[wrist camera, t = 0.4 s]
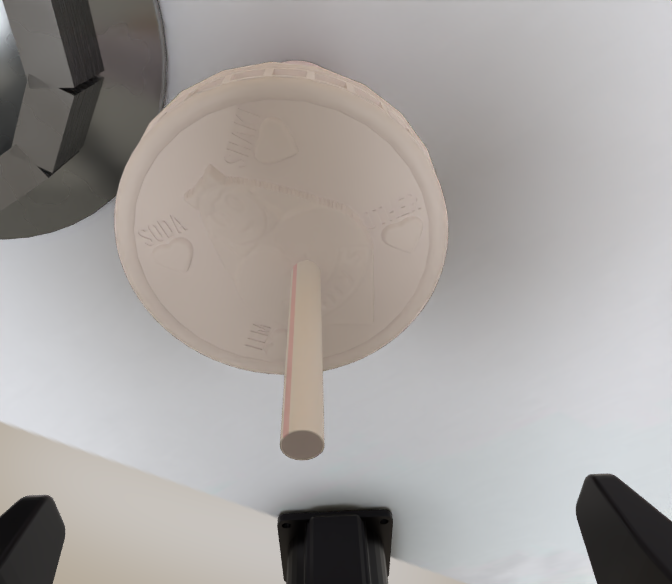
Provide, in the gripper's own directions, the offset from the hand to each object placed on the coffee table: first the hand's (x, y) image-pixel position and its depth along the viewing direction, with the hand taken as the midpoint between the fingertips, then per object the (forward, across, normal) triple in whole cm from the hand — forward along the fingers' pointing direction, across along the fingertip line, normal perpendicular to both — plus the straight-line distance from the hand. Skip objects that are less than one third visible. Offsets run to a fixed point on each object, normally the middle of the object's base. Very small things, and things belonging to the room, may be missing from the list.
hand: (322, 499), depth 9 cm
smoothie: (+13, +1, -4) cm, 13 cm away
